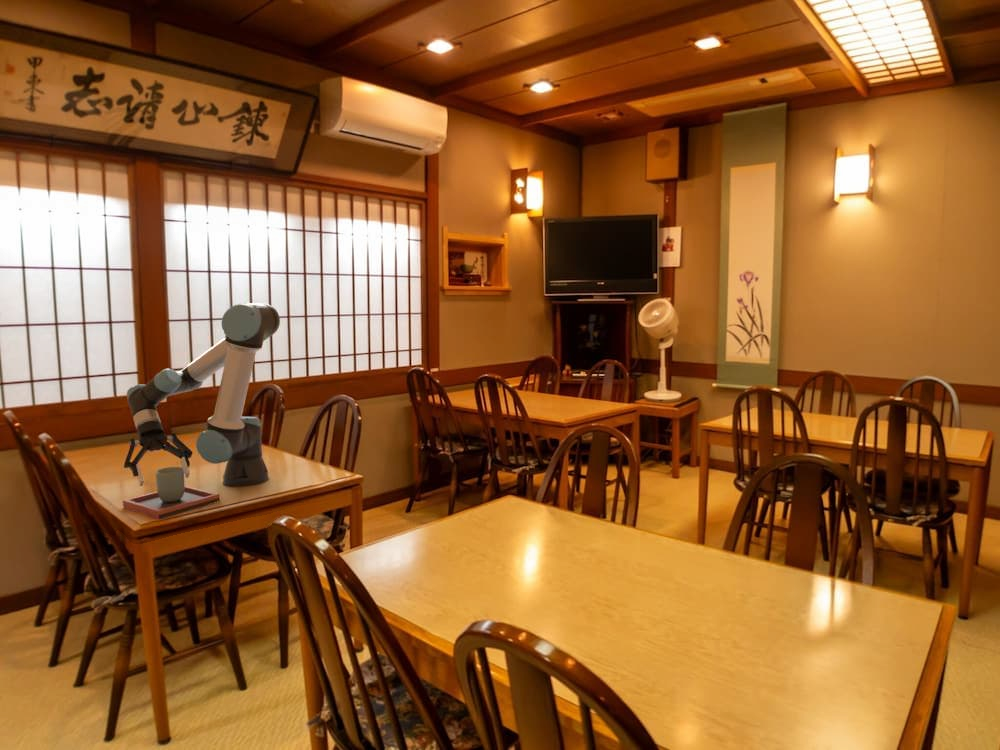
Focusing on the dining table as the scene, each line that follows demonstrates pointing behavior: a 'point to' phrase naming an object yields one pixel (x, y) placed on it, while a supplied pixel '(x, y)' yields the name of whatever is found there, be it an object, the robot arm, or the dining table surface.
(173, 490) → the cup
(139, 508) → the tray
